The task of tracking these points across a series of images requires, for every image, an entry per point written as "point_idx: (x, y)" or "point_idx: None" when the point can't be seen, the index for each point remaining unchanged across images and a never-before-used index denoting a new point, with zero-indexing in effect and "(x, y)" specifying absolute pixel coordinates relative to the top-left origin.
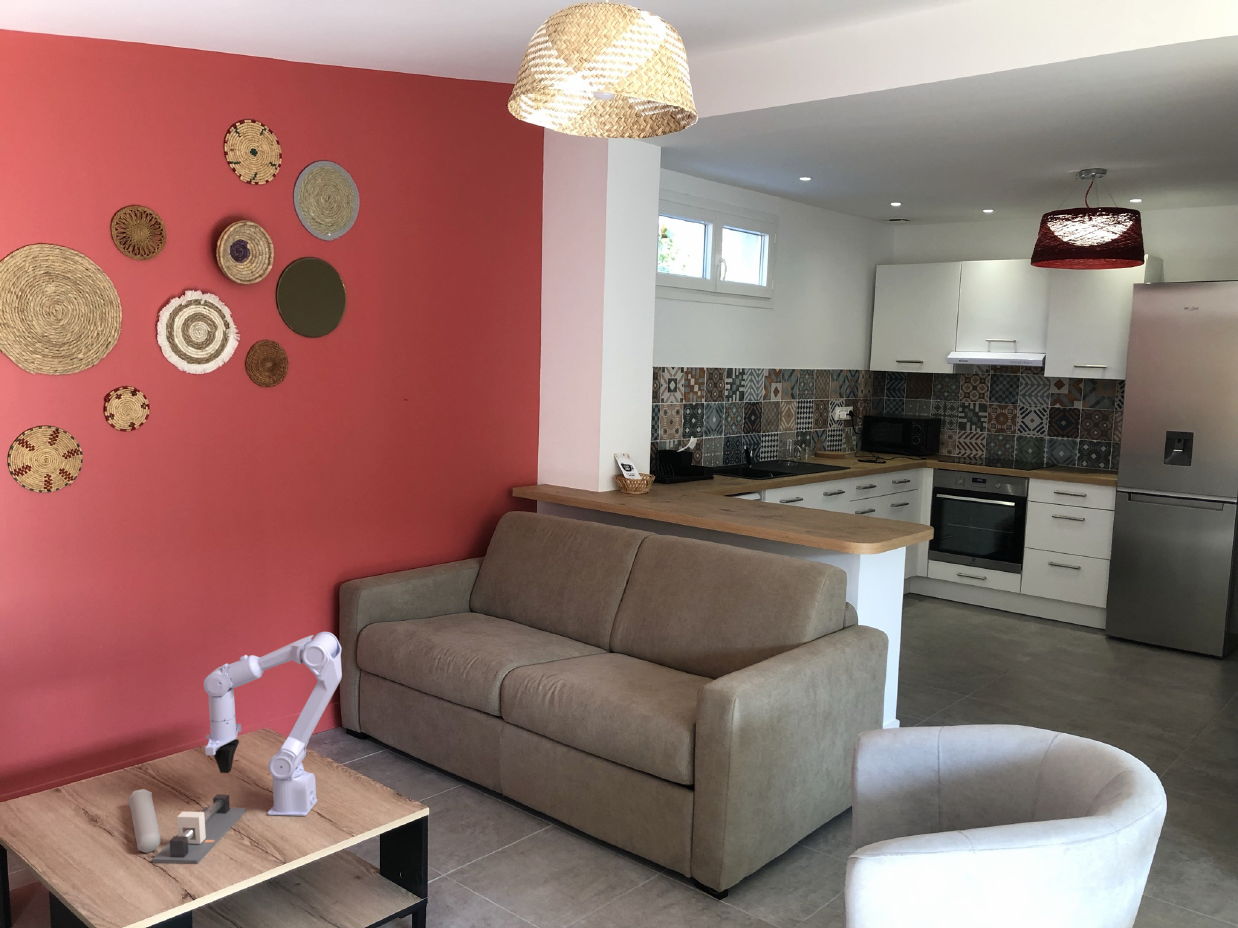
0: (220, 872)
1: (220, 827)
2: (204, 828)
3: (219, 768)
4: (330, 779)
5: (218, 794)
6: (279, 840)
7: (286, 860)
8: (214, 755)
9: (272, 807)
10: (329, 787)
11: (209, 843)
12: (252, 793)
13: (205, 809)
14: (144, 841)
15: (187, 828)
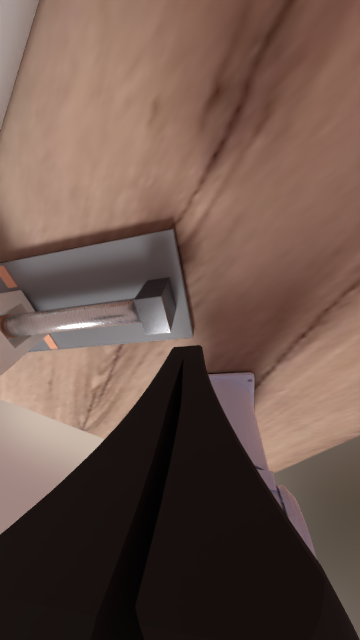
0: (18, 385)
1: (100, 332)
2: (30, 347)
3: (163, 364)
4: (352, 411)
5: (161, 302)
6: (120, 412)
7: (86, 430)
8: (92, 462)
9: (209, 377)
10: (310, 418)
11: (46, 344)
12: (291, 300)
13: (158, 241)
14: None
15: (5, 311)
